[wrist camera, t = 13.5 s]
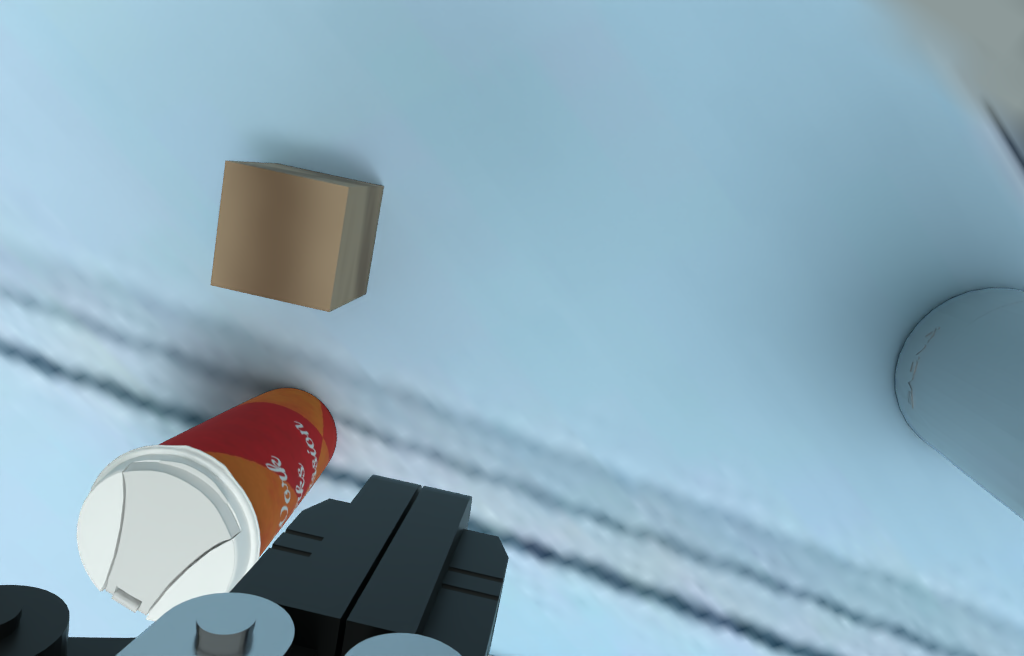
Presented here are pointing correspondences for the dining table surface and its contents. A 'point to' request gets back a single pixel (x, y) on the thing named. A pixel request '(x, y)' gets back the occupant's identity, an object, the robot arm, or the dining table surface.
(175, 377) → the dining table surface
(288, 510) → the paper cup
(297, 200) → the walnut block
